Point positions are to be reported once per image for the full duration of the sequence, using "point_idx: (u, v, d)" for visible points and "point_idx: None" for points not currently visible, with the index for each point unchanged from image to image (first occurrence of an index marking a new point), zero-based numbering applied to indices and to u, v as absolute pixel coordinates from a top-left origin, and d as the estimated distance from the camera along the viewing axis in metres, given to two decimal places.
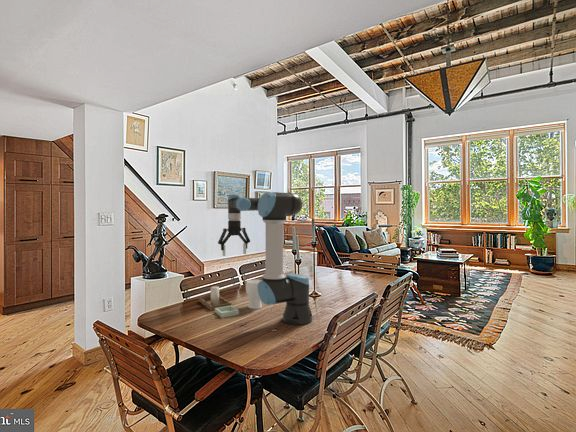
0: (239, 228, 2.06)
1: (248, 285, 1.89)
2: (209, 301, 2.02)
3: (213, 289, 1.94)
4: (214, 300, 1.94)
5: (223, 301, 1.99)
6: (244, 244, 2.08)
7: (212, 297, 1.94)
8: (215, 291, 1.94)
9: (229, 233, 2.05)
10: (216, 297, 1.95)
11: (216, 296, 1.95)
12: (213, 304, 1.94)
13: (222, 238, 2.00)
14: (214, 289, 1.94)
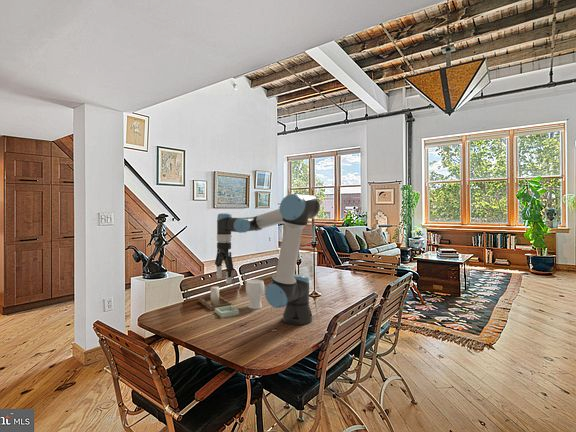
0: (224, 252, 1.80)
1: (248, 285, 1.89)
2: (209, 301, 2.02)
3: (213, 289, 1.94)
4: (214, 300, 1.94)
5: (223, 301, 1.99)
6: None
7: (212, 297, 1.94)
8: (215, 291, 1.94)
9: None
10: (216, 297, 1.95)
11: (216, 296, 1.95)
12: (213, 304, 1.94)
13: (216, 259, 1.89)
14: (214, 289, 1.94)
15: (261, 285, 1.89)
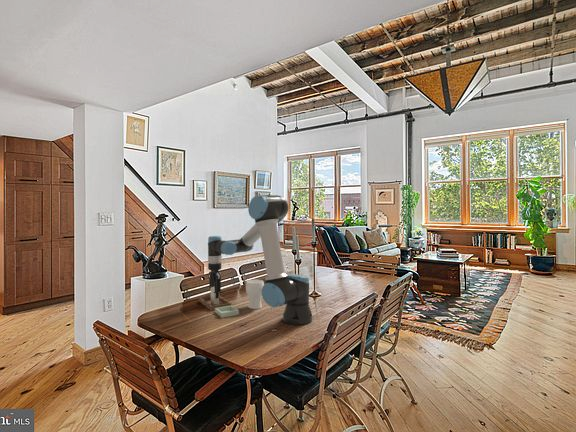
0: (215, 272, 1.93)
1: (248, 285, 1.89)
2: (209, 301, 2.02)
3: (213, 289, 1.94)
4: None
5: (223, 301, 1.99)
6: None
7: (212, 297, 1.94)
8: None
9: None
10: None
11: None
12: (213, 304, 1.94)
13: (209, 282, 2.00)
14: (214, 289, 1.94)
15: (261, 285, 1.89)
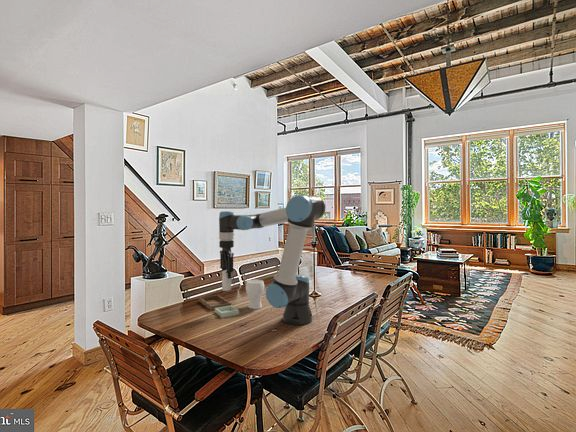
0: (226, 250, 1.77)
1: (248, 285, 1.89)
2: (209, 301, 2.02)
3: (225, 273, 1.79)
4: (226, 285, 1.79)
5: (223, 301, 1.99)
6: None
7: (224, 281, 1.79)
8: None
9: None
10: None
11: None
12: (225, 289, 1.79)
13: (220, 261, 1.85)
14: None
15: (261, 285, 1.89)
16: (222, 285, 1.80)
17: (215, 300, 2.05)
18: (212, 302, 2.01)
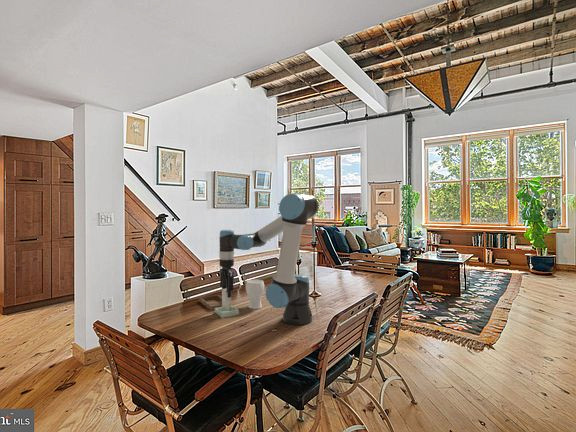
0: (227, 269, 1.77)
1: (248, 285, 1.89)
2: (209, 301, 2.02)
3: (225, 292, 1.79)
4: (226, 304, 1.79)
5: None
6: None
7: (223, 301, 1.79)
8: None
9: None
10: None
11: None
12: (225, 308, 1.79)
13: (220, 280, 1.85)
14: None
15: (261, 285, 1.89)
16: (222, 304, 1.80)
17: (215, 300, 2.05)
18: (212, 302, 2.01)
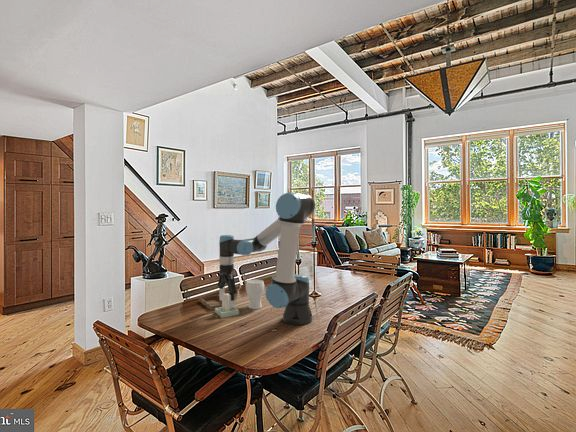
0: (226, 274, 1.78)
1: (248, 285, 1.89)
2: (209, 301, 2.02)
3: (225, 296, 1.79)
4: (226, 308, 1.79)
5: None
6: None
7: (224, 305, 1.79)
8: (227, 299, 1.79)
9: None
10: (228, 305, 1.79)
11: (228, 304, 1.79)
12: None
13: (219, 280, 1.87)
14: (226, 296, 1.79)
15: (261, 285, 1.89)
16: (222, 308, 1.80)
17: (215, 300, 2.05)
18: (212, 302, 2.01)
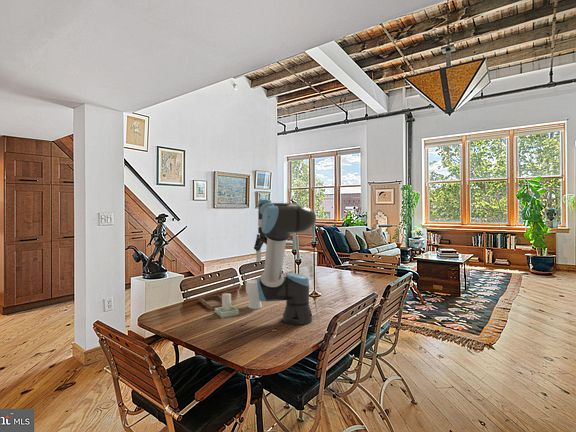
0: (265, 235, 1.91)
1: (248, 285, 1.89)
2: (209, 301, 2.02)
3: (225, 296, 1.79)
4: (226, 308, 1.79)
5: None
6: None
7: (224, 305, 1.79)
8: (227, 299, 1.79)
9: None
10: (228, 305, 1.79)
11: (228, 304, 1.79)
12: None
13: (255, 243, 2.00)
14: (226, 296, 1.79)
15: None
16: (222, 308, 1.80)
17: (215, 300, 2.05)
18: (212, 302, 2.01)
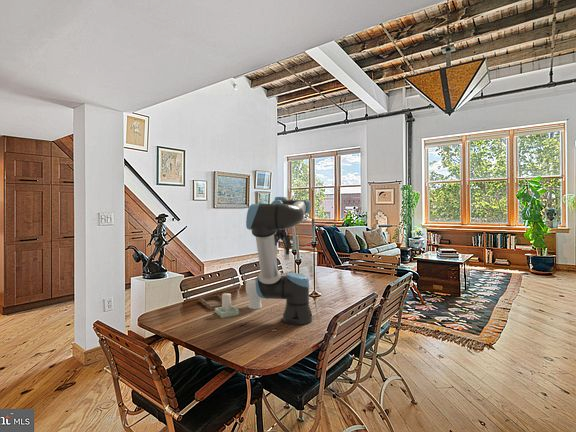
0: (281, 231, 1.98)
1: (248, 285, 1.89)
2: (209, 301, 2.02)
3: (225, 296, 1.79)
4: (226, 308, 1.79)
5: None
6: None
7: (224, 305, 1.79)
8: (227, 299, 1.79)
9: None
10: (228, 305, 1.79)
11: (228, 304, 1.79)
12: None
13: None
14: (226, 296, 1.79)
15: None
16: (222, 308, 1.80)
17: (215, 300, 2.05)
18: (212, 302, 2.01)
